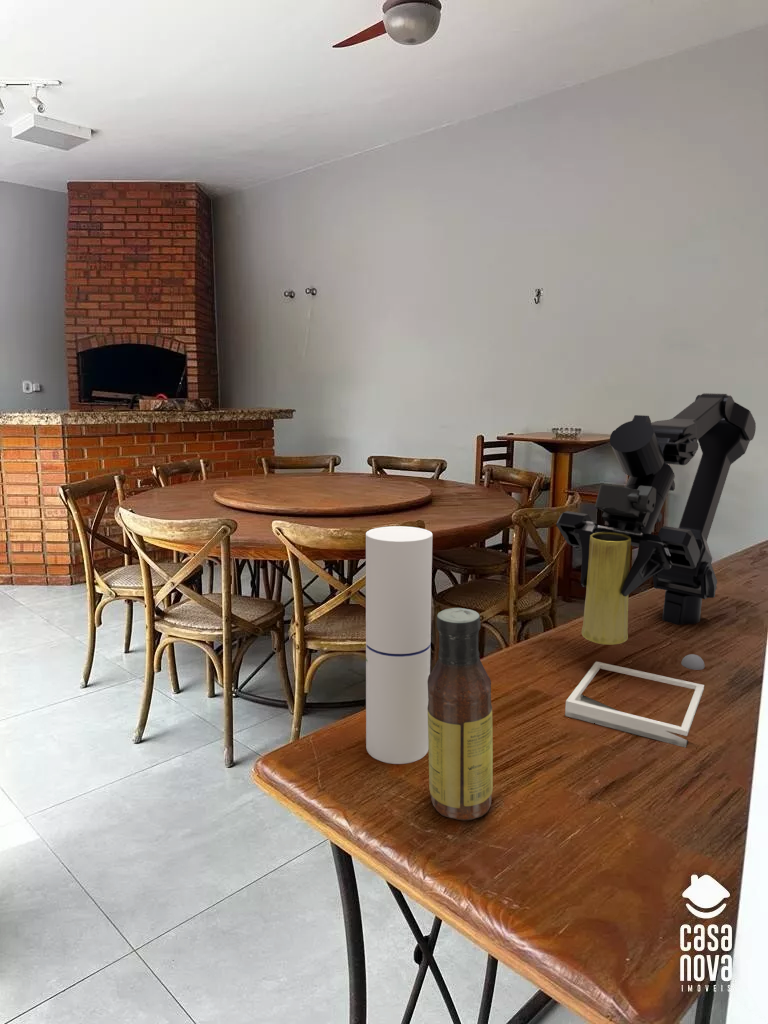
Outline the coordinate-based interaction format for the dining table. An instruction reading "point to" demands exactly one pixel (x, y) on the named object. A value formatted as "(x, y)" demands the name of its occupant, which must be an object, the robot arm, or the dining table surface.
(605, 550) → the vase
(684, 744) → the tray
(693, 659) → the mixing ball
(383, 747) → the cylindrical container
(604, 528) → the robot arm
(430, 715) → the sauce bottle
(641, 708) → the dining table surface
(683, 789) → the dining table surface
